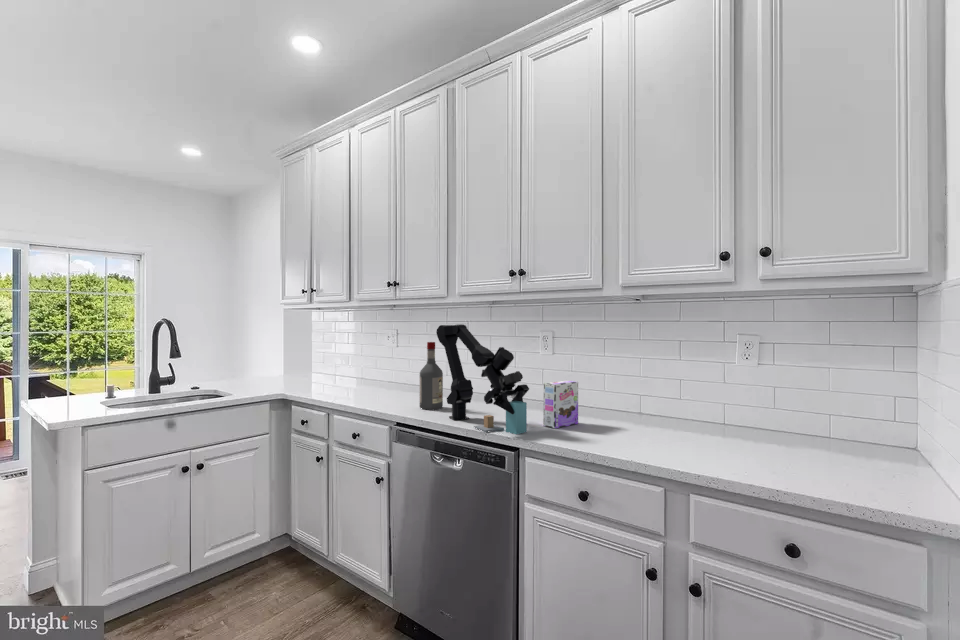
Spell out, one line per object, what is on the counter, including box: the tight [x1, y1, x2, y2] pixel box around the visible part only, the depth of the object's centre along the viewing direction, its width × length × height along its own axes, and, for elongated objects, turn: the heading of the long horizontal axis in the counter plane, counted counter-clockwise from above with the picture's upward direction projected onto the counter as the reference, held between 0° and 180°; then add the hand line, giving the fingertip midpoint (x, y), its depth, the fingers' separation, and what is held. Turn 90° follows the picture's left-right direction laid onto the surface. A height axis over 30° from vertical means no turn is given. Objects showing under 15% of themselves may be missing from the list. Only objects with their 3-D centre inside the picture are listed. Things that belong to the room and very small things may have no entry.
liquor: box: [419, 341, 444, 411], centre depth 214 cm, size 9×9×30 cm
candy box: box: [542, 380, 579, 430], centre depth 178 cm, size 14×6×16 cm, turn 129°
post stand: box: [473, 414, 505, 433], centre depth 171 cm, size 8×8×5 cm
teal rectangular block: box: [505, 400, 528, 435], centre depth 167 cm, size 5×5×10 cm
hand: (519, 412), depth 166 cm, fingers closed on teal rectangular block, 5 cm apart
